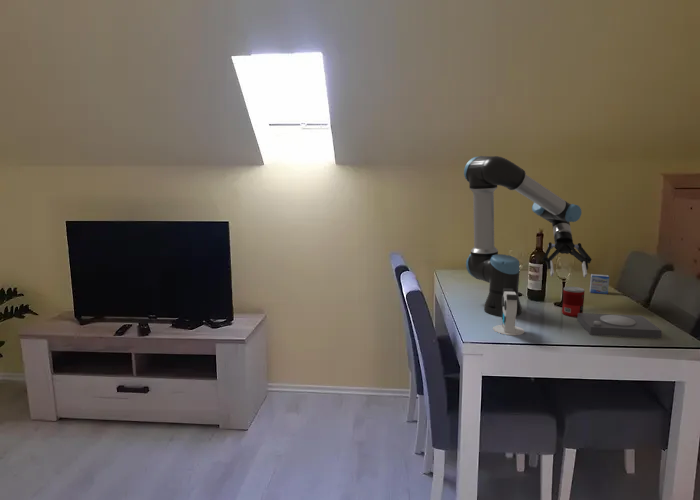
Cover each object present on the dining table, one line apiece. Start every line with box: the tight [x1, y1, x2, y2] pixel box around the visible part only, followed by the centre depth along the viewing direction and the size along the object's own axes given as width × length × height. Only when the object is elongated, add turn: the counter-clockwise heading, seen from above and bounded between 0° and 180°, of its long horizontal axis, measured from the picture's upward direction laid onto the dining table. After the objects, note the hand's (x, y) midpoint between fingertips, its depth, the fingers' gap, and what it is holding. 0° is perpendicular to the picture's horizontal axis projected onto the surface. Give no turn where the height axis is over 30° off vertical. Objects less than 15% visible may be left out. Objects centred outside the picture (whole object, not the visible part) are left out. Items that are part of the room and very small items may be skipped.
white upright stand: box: [492, 288, 525, 336], centre depth 197 cm, size 12×11×15 cm
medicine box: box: [589, 273, 610, 295], centre depth 253 cm, size 8×4×9 cm, turn 68°
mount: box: [576, 312, 662, 339], centre depth 200 cm, size 24×18×4 cm
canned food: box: [561, 286, 586, 318], centre depth 217 cm, size 8×8×11 cm
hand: (568, 275), depth 226 cm, fingers open, 13 cm apart
